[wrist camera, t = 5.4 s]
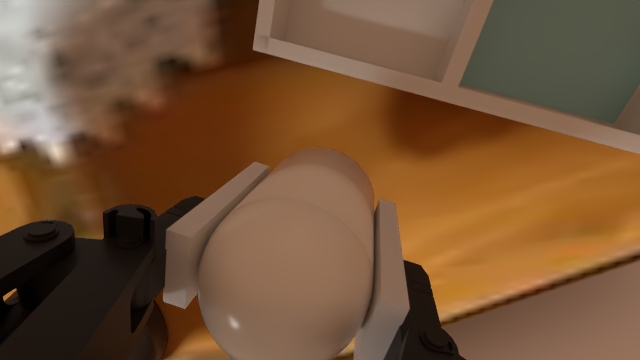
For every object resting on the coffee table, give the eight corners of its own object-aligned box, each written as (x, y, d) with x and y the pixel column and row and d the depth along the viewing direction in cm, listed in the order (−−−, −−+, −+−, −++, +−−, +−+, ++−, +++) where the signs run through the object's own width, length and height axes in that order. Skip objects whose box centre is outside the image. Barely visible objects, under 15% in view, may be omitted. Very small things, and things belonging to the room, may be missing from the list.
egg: (356, 258, 16) (336, 449, 8) (260, 228, 17) (150, 381, 8) (389, 165, 14) (407, 298, 6) (279, 133, 14) (156, 217, 6)
